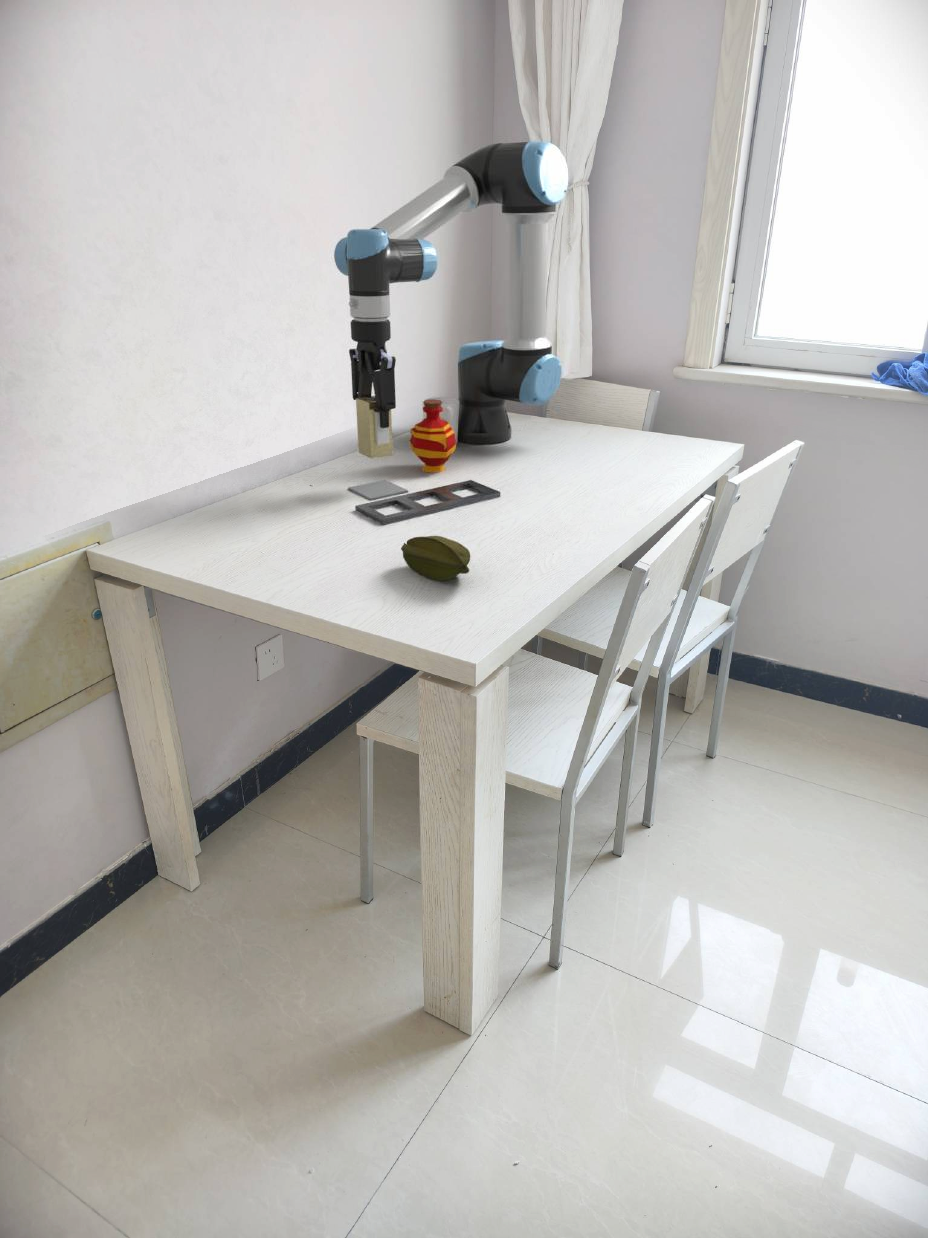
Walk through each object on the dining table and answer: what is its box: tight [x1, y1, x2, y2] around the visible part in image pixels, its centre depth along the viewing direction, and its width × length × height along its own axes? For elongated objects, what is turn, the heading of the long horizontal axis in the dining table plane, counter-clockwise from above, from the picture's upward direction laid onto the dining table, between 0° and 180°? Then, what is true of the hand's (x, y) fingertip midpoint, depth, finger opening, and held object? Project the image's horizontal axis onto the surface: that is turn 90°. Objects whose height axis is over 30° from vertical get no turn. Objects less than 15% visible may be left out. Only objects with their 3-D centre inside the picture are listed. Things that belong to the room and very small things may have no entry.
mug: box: [422, 396, 459, 445], centre depth 207 cm, size 11×9×10 cm
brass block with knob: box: [355, 395, 394, 459], centre depth 170 cm, size 5×5×11 cm
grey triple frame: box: [354, 479, 501, 526], centre depth 169 cm, size 10×28×1 cm, turn 127°
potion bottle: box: [408, 399, 457, 473], centre depth 187 cm, size 10×10×15 cm
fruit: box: [400, 535, 471, 581], centre depth 135 cm, size 11×12×7 cm
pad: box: [347, 479, 409, 501], centre depth 176 cm, size 9×9×1 cm
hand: (375, 440), depth 171 cm, fingers closed on brass block with knob, 5 cm apart
